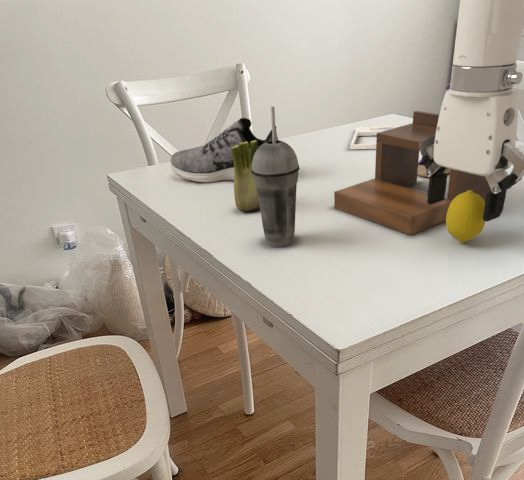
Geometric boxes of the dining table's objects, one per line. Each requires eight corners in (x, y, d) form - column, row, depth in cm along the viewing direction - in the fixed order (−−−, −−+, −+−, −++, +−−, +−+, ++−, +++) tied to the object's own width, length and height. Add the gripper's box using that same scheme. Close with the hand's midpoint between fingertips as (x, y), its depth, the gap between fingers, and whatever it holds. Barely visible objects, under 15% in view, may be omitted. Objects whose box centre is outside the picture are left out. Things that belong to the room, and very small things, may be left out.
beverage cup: (254, 251, 84) (241, 115, 73) (260, 232, 90) (250, 104, 79) (300, 250, 83) (295, 112, 72) (304, 232, 89) (299, 101, 78)
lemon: (484, 250, 78) (493, 196, 74) (445, 250, 79) (451, 197, 75) (479, 235, 83) (487, 183, 78) (441, 235, 84) (447, 184, 79)
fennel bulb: (261, 202, 103) (255, 136, 96) (268, 210, 99) (263, 142, 92) (231, 207, 102) (224, 141, 95) (238, 216, 98) (231, 147, 91)
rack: (410, 181, 106) (416, 110, 99) (490, 202, 94) (503, 123, 86) (334, 207, 97) (333, 132, 90) (410, 235, 85) (417, 150, 77)
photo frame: (414, 124, 138) (413, 143, 124) (414, 129, 139) (413, 148, 125) (357, 126, 142) (350, 144, 128) (357, 130, 143) (350, 149, 128)
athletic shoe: (184, 169, 126) (175, 114, 119) (293, 172, 117) (291, 113, 110) (165, 182, 118) (155, 124, 111) (280, 186, 110) (276, 124, 103)
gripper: (563, 80, 64) (532, 218, 74) (445, 71, 76) (432, 191, 86) (526, 90, 61) (498, 233, 70) (409, 78, 73) (399, 202, 82)
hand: (462, 210), depth 78 cm, fingers open, 9 cm apart
